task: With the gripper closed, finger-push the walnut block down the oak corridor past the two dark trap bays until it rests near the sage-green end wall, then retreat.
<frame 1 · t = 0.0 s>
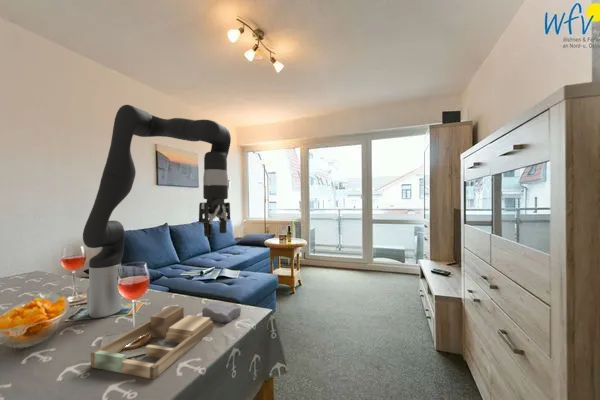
hand: (215, 234, 81), 29 cm above the table, fingers open, 8 cm apart
walnut block: (167, 331, 78), on the table
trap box: (159, 345, 70), on the table
stone block: (223, 316, 89), on the table
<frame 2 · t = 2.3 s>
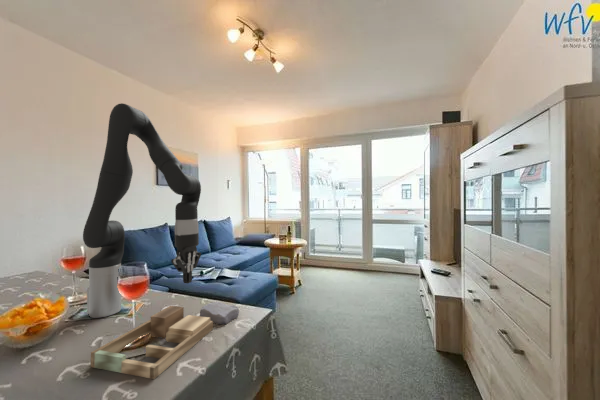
hand: (187, 282, 87), 12 cm above the table, fingers closed
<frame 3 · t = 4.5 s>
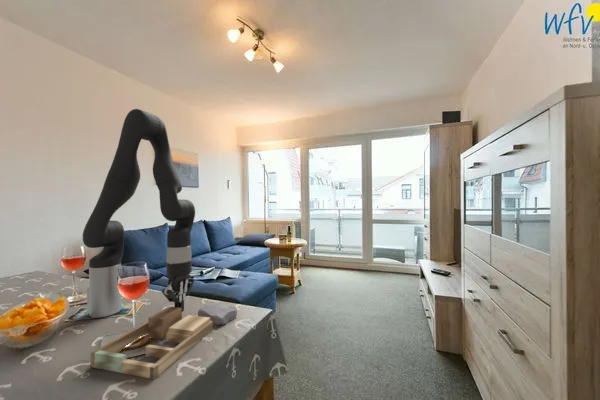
hand: (179, 312, 83), 4 cm above the table, fingers closed
walnut block: (165, 332, 77), on the table, touching gripper
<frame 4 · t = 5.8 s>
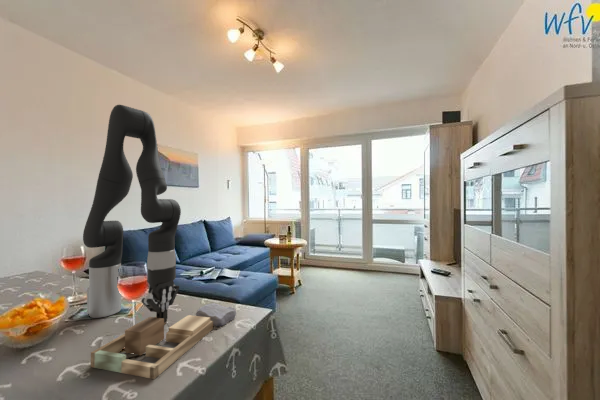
hand: (161, 322, 76), 4 cm above the table, fingers closed
walnut block: (145, 345, 70), on the table, touching gripper
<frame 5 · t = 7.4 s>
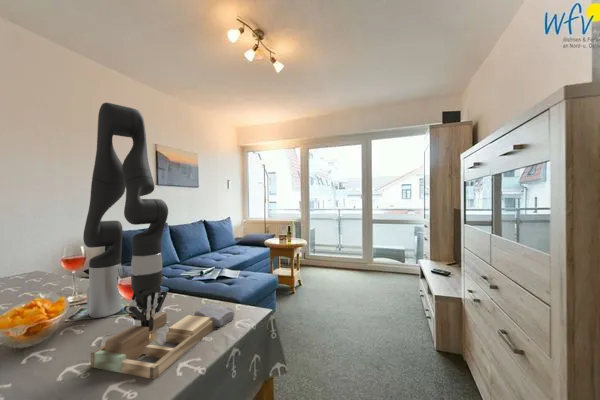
hand: (147, 331, 71), 4 cm above the table, fingers closed
walnut block: (128, 357, 65), on the table, touching gripper, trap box
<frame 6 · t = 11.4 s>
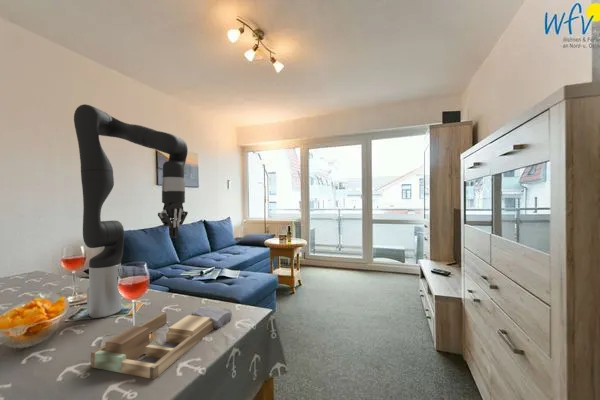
hand: (173, 237, 92), 27 cm above the table, fingers closed
walnut block: (128, 357, 65), on the table
stone block: (213, 321, 85), on the table, touching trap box
at the end: walnut block inside the target area (1.3 cm from its centre), on the table; walnut block tilted 0° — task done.
